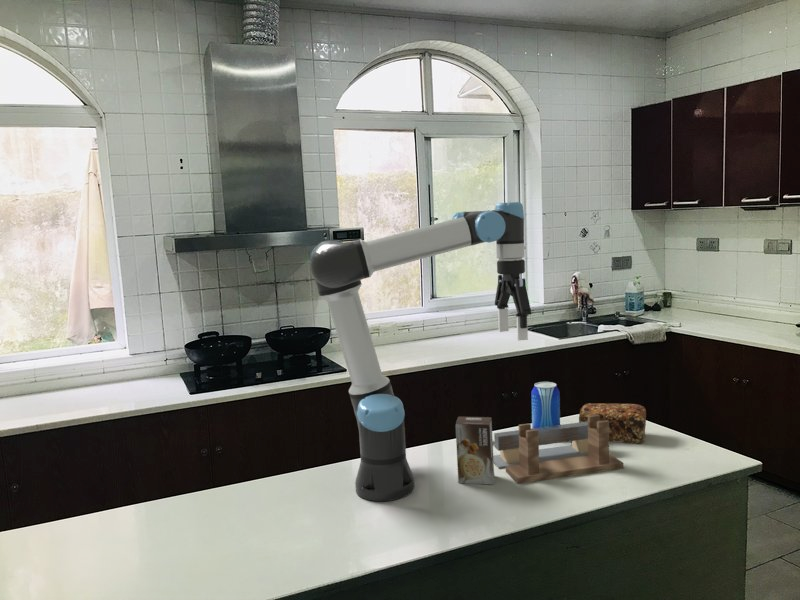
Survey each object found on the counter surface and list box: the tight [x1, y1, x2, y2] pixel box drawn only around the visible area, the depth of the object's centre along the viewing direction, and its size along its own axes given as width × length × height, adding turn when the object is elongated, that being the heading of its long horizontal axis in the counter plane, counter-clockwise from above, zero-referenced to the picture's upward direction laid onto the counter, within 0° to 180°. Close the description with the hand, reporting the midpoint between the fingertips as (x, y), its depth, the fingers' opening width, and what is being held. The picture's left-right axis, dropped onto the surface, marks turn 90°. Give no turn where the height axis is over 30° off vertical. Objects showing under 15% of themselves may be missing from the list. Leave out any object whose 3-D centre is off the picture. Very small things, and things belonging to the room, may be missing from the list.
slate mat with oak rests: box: [493, 439, 588, 469], centre depth 181 cm, size 32×8×4 cm, turn 102°
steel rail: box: [493, 421, 588, 452], centre depth 180 cm, size 30×3×4 cm, turn 102°
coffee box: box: [455, 416, 496, 485], centre depth 167 cm, size 9×6×16 cm
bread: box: [578, 402, 647, 444], centre depth 193 cm, size 19×11×10 cm, turn 66°
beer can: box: [530, 381, 561, 429], centre depth 196 cm, size 8×8×16 cm
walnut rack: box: [505, 415, 624, 484], centre depth 170 cm, size 30×8×13 cm, turn 102°
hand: (512, 335), depth 178 cm, fingers open, 13 cm apart
